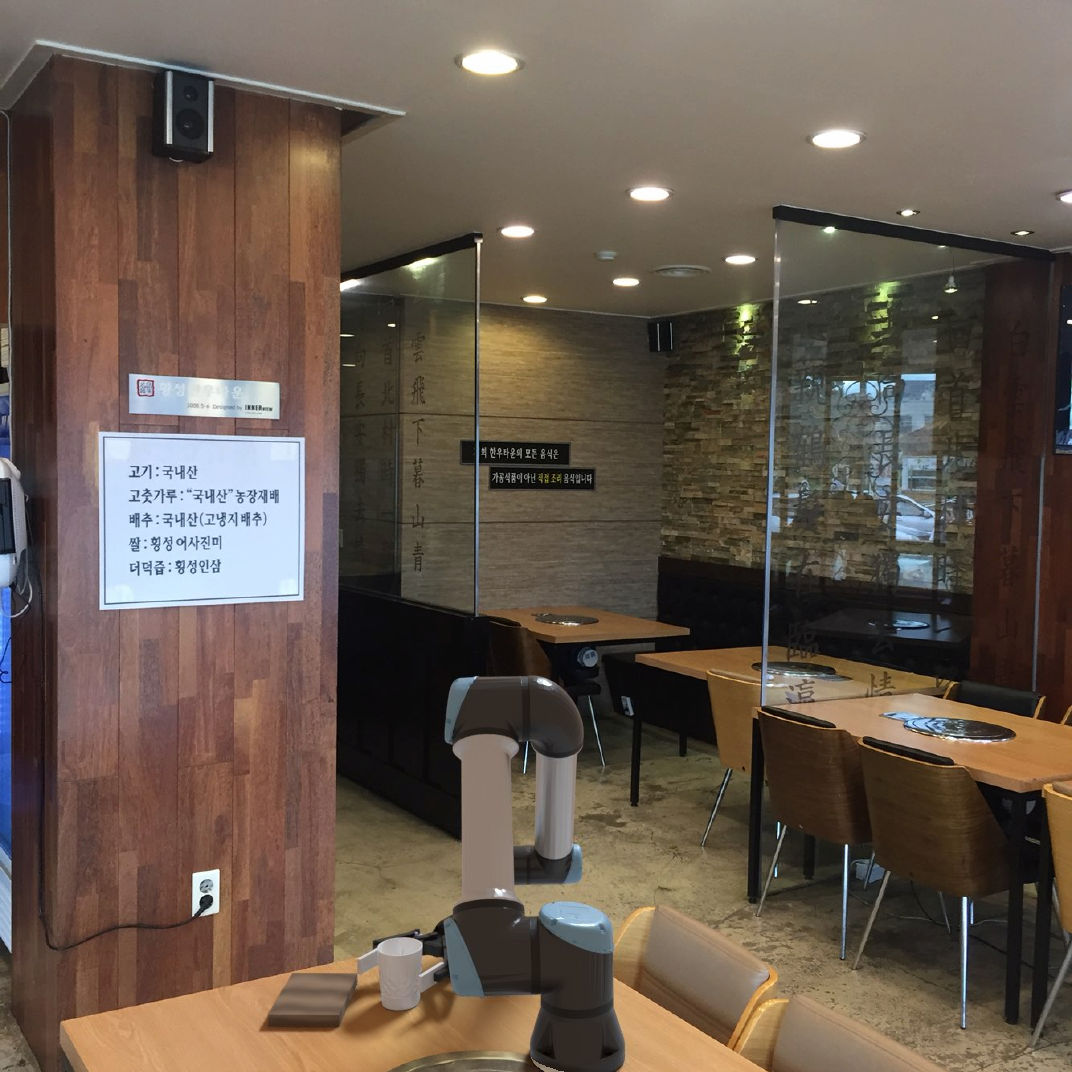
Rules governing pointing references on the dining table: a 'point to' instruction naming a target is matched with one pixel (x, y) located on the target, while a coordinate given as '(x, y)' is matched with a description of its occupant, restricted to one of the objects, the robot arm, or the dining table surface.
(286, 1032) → the dining table surface
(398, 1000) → the white cup
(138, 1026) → the dining table surface
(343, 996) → the walnut board
